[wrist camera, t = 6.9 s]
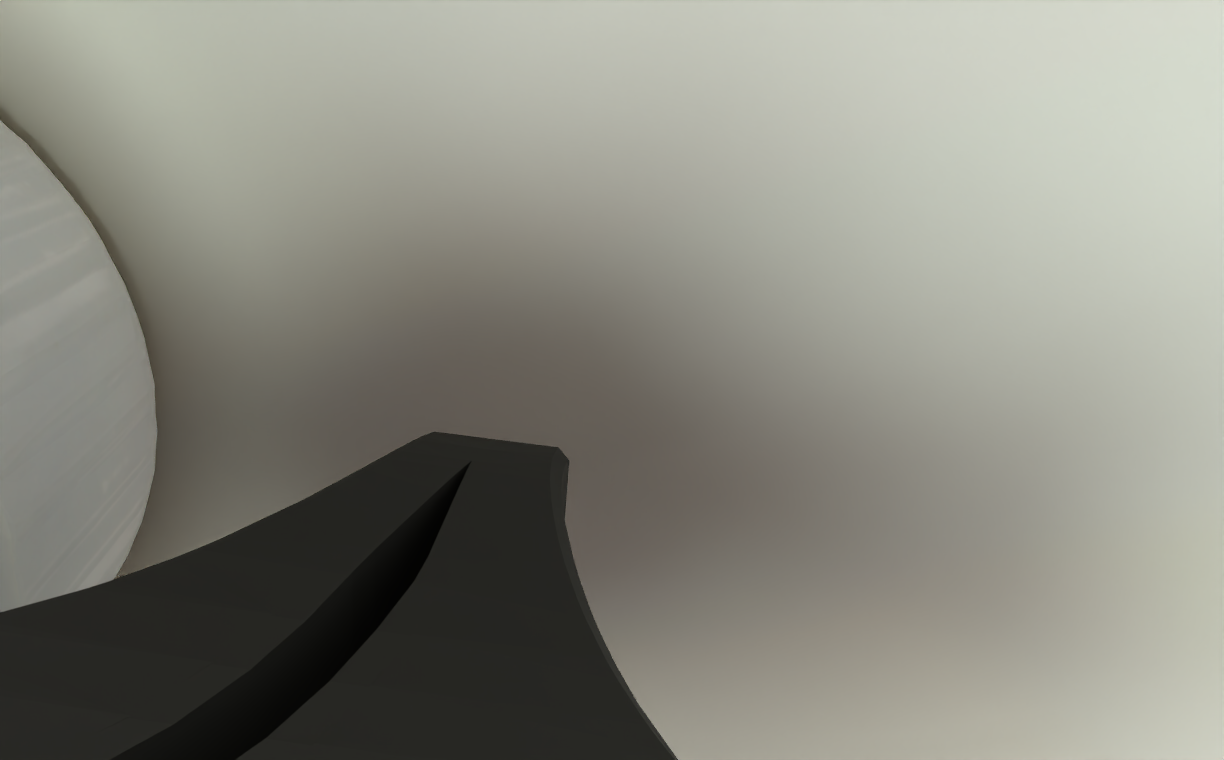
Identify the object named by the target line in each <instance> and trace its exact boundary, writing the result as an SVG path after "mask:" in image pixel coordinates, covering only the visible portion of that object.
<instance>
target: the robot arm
mask: <svg viewBox="0 0 1224 760" xmlns="http://www.w3.org/2000/svg"><path fill="white" fill-rule="evenodd" d="M568 468H569V460H568V459H567V457H566V456H565V455H564V454H563V452H562V451H561V450H560V449H559V448H558V447H550V446H542V445H534V444H526V443H518V442H510V441H503V440H495V439H487V438H479V437H471V436H463V435H455V434H447V433H439V432H432V433H430V434H427V435H425V436H422V437H420V438H418V439H416V440H414V441H412V442H410V443H408V444H406V445H404V446H402V447H400V448H399V449H397V450H395V451H393V452H391V453H389V454H388V455H386V456H384V457H382V458H380V459H378V460H377V461H375V462H373V463H371V464H369V465H367V466H366V467H364V468H362V469H360V470H358V471H356V472H355V473H353V474H351V475H349V476H347V477H345V478H343V479H341V480H340V481H338V482H336V483H334V484H332V485H330V486H328V487H326V488H325V489H323V490H321V491H319V492H317V493H315V494H313V495H312V496H310V497H308V498H306V499H304V500H302V501H300V502H298V503H296V504H293V505H291V506H289V507H287V508H285V509H283V510H281V511H279V512H277V513H274V514H272V515H270V516H268V517H266V518H264V519H262V520H260V521H257V522H255V523H253V524H251V525H249V526H247V527H245V528H243V529H240V530H238V531H236V532H234V533H232V534H230V535H228V536H226V537H223V538H221V539H219V540H217V541H214V542H212V543H210V544H207V545H205V546H203V547H200V548H198V549H195V550H193V551H190V552H188V553H185V554H183V555H180V556H178V557H175V558H173V559H170V560H168V561H165V562H162V563H159V564H156V565H153V566H151V567H148V568H145V569H142V570H139V571H137V572H134V573H131V574H128V575H125V576H123V577H120V578H117V579H114V580H111V581H108V582H105V583H102V584H99V585H96V586H93V587H90V588H86V589H83V590H79V591H76V592H72V593H68V594H65V595H61V596H58V597H54V598H50V599H47V600H43V601H40V602H36V603H32V604H29V605H25V606H22V607H18V608H14V609H11V610H7V611H4V612H0V760H678V759H677V758H676V756H675V755H674V754H673V752H672V751H671V749H670V748H669V747H668V745H667V744H666V742H665V741H664V739H663V738H662V737H661V735H660V734H659V732H658V731H657V730H656V728H655V727H654V725H653V724H652V723H651V721H650V720H649V718H648V717H647V716H646V714H645V713H644V711H643V710H642V709H641V707H640V706H639V704H638V703H637V701H636V699H635V698H634V696H633V694H632V692H631V691H630V689H629V687H628V685H627V684H626V682H625V680H624V678H623V677H622V675H621V673H620V671H619V670H618V668H617V666H616V664H615V662H614V660H613V658H612V656H611V654H610V652H609V650H608V648H607V646H606V644H605V642H604V640H603V638H602V636H601V634H600V631H599V629H598V627H597V625H596V622H595V620H594V617H593V615H592V612H591V610H590V607H589V605H588V602H587V599H586V596H585V594H584V591H583V588H582V585H581V582H580V579H579V576H578V573H577V570H576V566H575V563H574V559H573V556H572V551H571V547H570V542H569V538H568V533H567V529H566V525H565V508H566V495H567V482H568Z"/></svg>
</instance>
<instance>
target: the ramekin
mask: <svg viewBox="0 0 1224 760" xmlns="http://www.w3.org/2000/svg"><path fill="white" fill-rule="evenodd" d="M156 441H157V421H156V409H155V383H154V379H153V375H152V370H151V366H150V361H149V357H148V353H147V348H146V343H145V338H144V335H143V332H142V329H141V326H140V323H139V320H138V317H137V314H136V312H135V309H134V306H133V304H132V301H131V299H130V296H129V293H128V291H127V288H126V285H125V283H124V281H123V280H122V278H121V276H120V274H119V272H118V271H117V269H116V267H115V265H114V263H113V261H112V259H111V257H110V255H109V253H108V252H107V249H106V247H105V245H104V243H103V241H102V240H101V238H100V236H99V235H98V233H97V231H96V230H95V228H94V226H93V225H92V223H91V222H90V220H89V218H88V217H87V216H86V215H85V213H84V212H83V210H82V209H81V207H80V206H79V205H78V204H77V203H76V202H75V200H74V199H73V197H72V196H71V194H70V193H69V192H68V191H67V190H66V189H65V188H64V186H63V185H62V184H61V182H60V181H59V180H58V179H57V178H56V177H55V176H54V174H53V173H52V172H51V171H50V170H49V169H48V168H47V166H46V165H45V164H44V163H43V162H42V161H41V159H40V158H39V157H38V156H37V155H36V154H35V153H34V152H33V150H32V149H31V148H30V147H29V145H28V144H27V143H26V142H24V141H23V140H22V139H21V138H20V137H19V136H17V135H16V134H15V133H14V132H13V131H12V130H10V129H9V128H8V127H7V126H6V125H5V124H4V123H3V122H2V121H1V120H0V612H4V611H7V610H11V609H14V608H18V607H22V606H25V605H29V604H32V603H36V602H40V601H43V600H47V599H50V598H54V597H58V596H61V595H65V594H68V593H72V592H76V591H79V590H83V589H86V588H90V587H93V586H96V585H99V584H102V583H105V582H108V581H111V580H113V579H114V578H115V577H116V575H117V573H118V572H119V570H120V568H121V567H122V565H123V563H124V562H125V560H126V558H127V556H128V554H129V552H130V549H131V547H132V544H133V542H134V539H135V537H136V535H137V532H138V530H139V528H140V525H141V523H142V520H143V516H144V513H145V509H146V505H147V501H148V498H149V493H150V489H151V485H152V481H153V476H154V472H155V454H156Z"/></svg>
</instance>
